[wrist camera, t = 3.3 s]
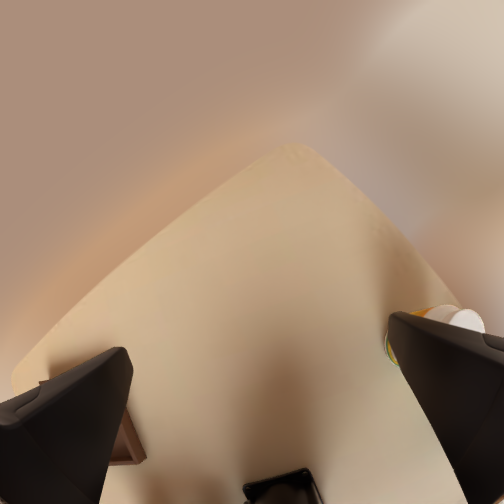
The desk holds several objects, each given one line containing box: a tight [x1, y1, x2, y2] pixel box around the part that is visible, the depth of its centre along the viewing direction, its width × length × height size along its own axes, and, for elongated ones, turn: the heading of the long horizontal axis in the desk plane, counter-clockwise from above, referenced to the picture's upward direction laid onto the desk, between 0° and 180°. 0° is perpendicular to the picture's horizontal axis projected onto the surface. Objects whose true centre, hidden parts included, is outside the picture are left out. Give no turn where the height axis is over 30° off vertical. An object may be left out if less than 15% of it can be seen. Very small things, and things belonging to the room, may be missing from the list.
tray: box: [39, 380, 147, 466], centre depth 21 cm, size 10×10×2 cm
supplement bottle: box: [385, 304, 485, 368], centre depth 18 cm, size 5×5×10 cm
